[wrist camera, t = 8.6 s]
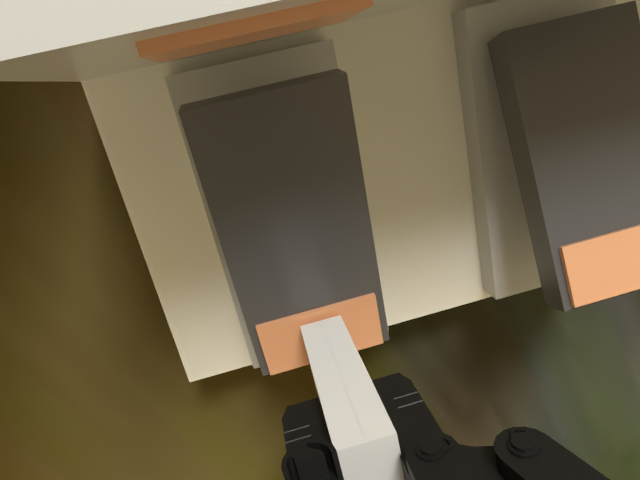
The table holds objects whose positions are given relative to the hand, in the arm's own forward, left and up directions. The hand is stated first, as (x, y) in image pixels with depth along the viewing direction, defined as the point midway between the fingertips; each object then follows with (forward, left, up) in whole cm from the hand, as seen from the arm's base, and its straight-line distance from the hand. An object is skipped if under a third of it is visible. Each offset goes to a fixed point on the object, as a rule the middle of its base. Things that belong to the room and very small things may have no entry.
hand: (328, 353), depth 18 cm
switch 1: (0, +4, -1) cm, 4 cm away
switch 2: (+11, +4, -1) cm, 12 cm away
